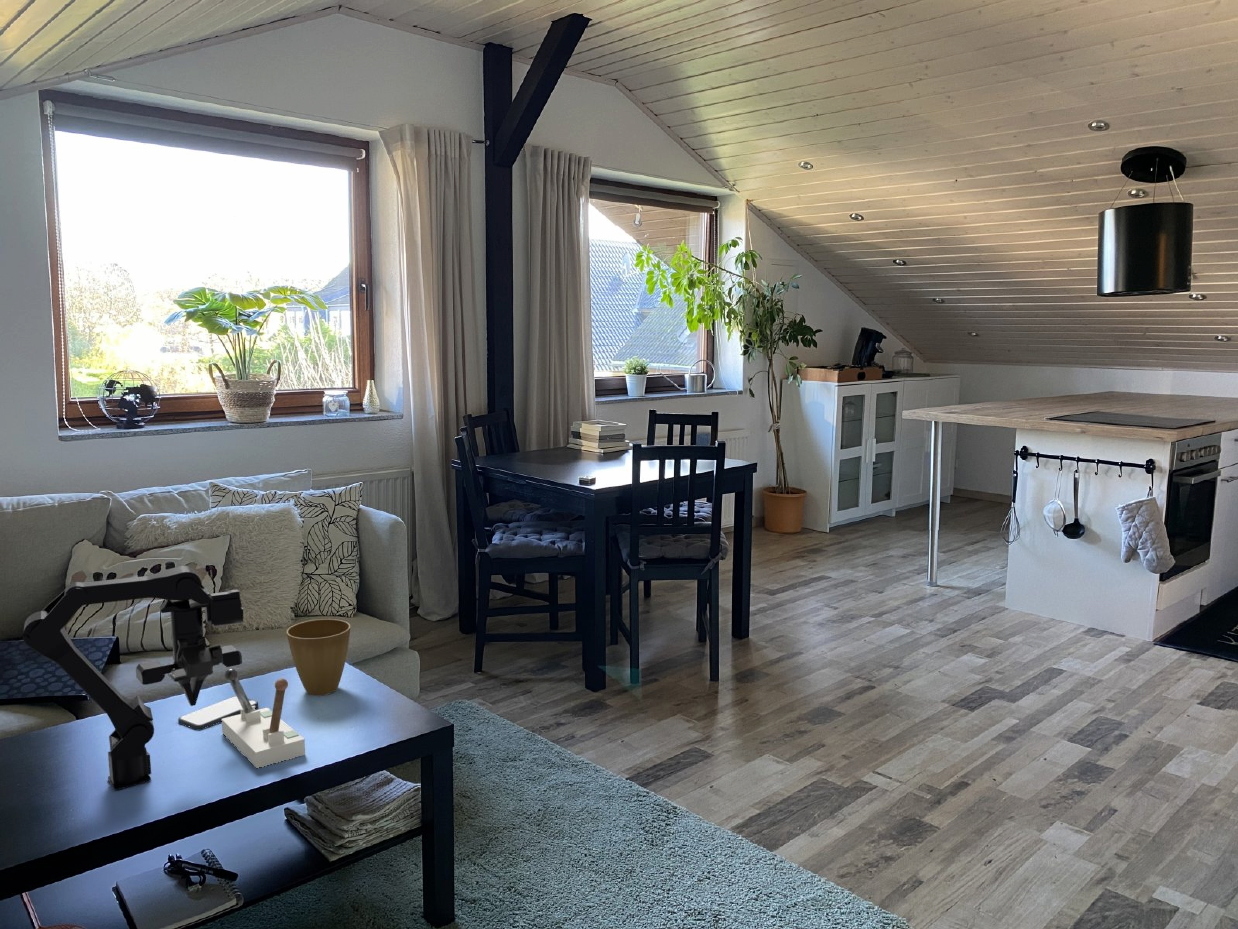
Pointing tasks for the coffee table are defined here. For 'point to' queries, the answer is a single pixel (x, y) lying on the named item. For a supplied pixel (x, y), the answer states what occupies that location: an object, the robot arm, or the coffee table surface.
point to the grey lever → (238, 690)
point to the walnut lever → (278, 704)
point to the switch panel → (262, 737)
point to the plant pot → (319, 653)
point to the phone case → (214, 713)
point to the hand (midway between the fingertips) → (192, 705)
